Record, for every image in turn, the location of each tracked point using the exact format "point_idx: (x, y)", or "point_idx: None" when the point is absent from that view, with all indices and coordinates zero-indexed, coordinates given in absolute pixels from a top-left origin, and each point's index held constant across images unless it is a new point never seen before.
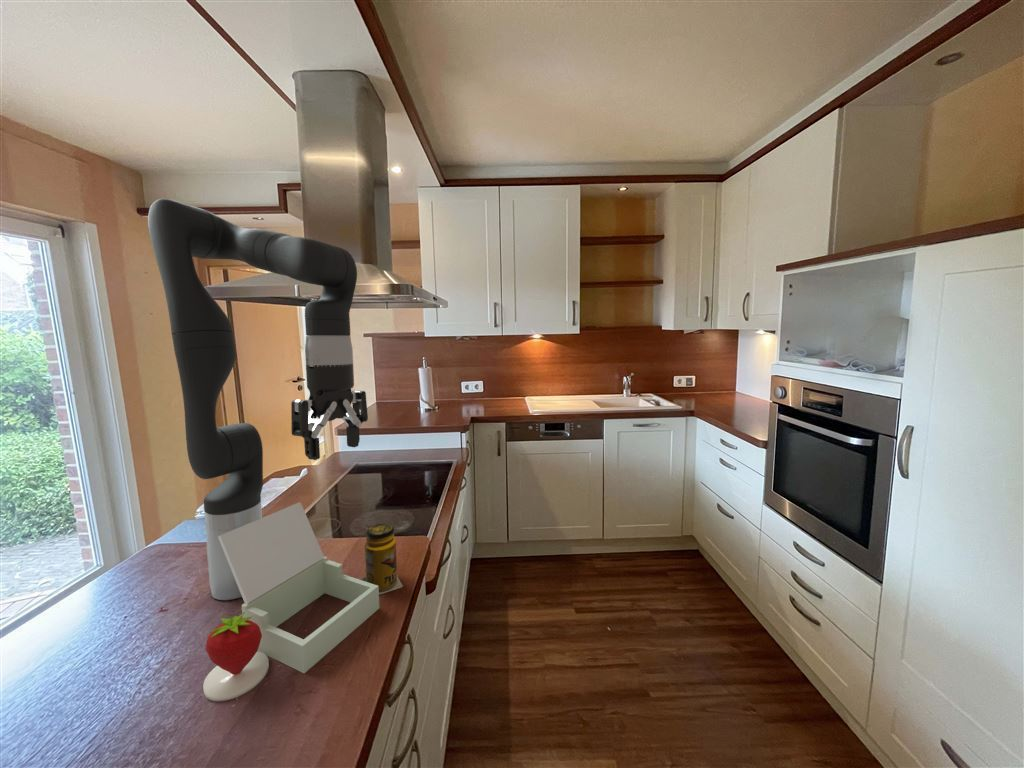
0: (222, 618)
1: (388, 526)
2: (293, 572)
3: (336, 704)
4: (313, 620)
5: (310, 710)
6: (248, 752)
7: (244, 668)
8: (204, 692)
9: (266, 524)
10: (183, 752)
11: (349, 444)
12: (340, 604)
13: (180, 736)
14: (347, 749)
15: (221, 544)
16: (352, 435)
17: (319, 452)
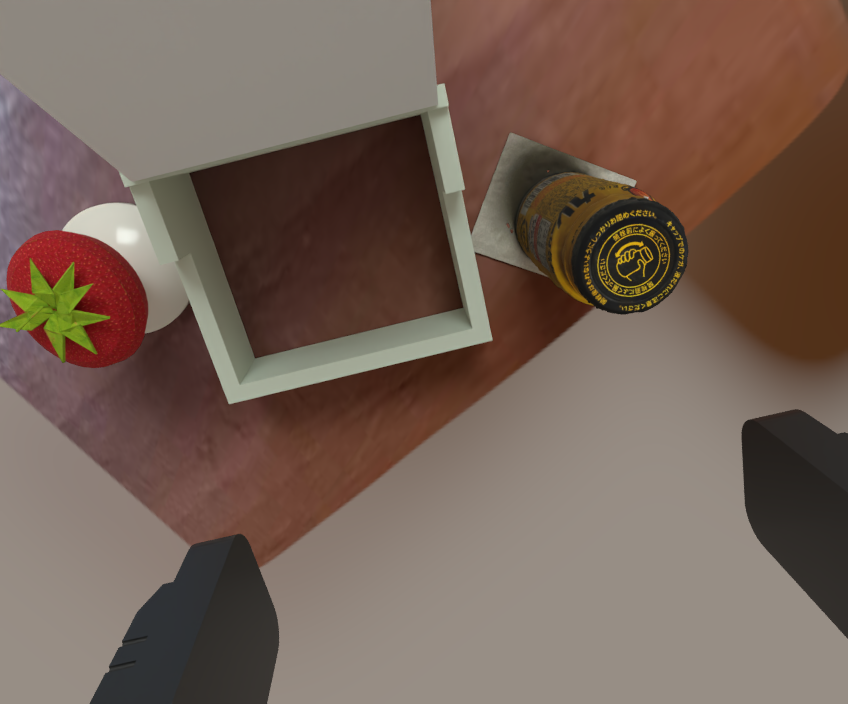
0: (32, 263)
1: (670, 267)
2: (301, 132)
3: (261, 488)
4: (336, 217)
5: (220, 465)
6: (112, 462)
7: (139, 273)
8: None
9: None
10: (19, 379)
11: (756, 459)
12: (423, 212)
13: (15, 339)
14: None
15: None
16: (843, 586)
17: (268, 688)
